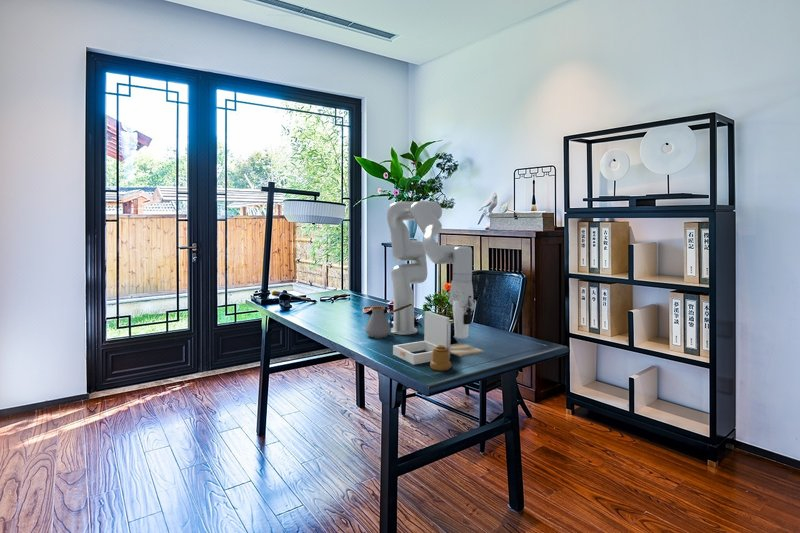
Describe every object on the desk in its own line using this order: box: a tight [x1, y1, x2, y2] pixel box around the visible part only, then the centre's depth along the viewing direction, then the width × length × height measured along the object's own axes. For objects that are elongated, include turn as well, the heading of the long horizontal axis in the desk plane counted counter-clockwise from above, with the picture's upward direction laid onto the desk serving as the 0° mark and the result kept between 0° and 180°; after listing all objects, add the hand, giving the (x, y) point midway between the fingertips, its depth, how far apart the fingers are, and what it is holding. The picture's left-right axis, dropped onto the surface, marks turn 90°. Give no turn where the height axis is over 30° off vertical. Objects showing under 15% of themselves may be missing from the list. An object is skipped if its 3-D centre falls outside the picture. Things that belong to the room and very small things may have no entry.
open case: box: [392, 310, 452, 366], centre depth 180 cm, size 16×16×16 cm
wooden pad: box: [450, 342, 485, 358], centre depth 190 cm, size 14×12×1 cm
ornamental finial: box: [429, 345, 452, 372], centre depth 167 cm, size 8×8×8 cm
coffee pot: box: [364, 304, 413, 339], centre depth 211 cm, size 21×12×15 cm, turn 85°
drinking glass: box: [452, 300, 470, 339], centre depth 189 cm, size 7×7×15 cm
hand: (461, 321), depth 189 cm, fingers closed on drinking glass, 6 cm apart
